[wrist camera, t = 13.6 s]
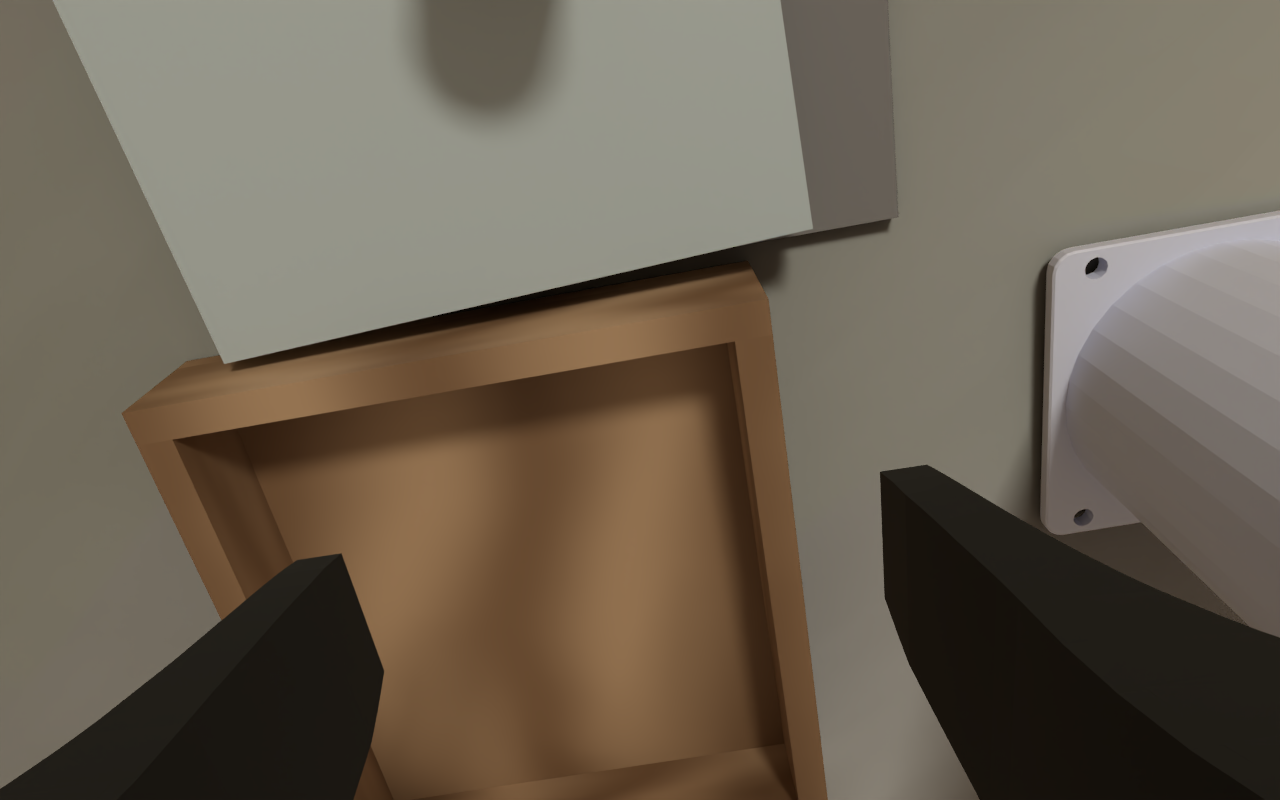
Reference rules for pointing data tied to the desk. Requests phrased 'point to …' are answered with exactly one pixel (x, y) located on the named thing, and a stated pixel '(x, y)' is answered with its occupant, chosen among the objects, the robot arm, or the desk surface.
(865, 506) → the desk surface
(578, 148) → the lid
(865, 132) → the mat
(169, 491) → the wooden tray
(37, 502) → the desk surface
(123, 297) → the desk surface
